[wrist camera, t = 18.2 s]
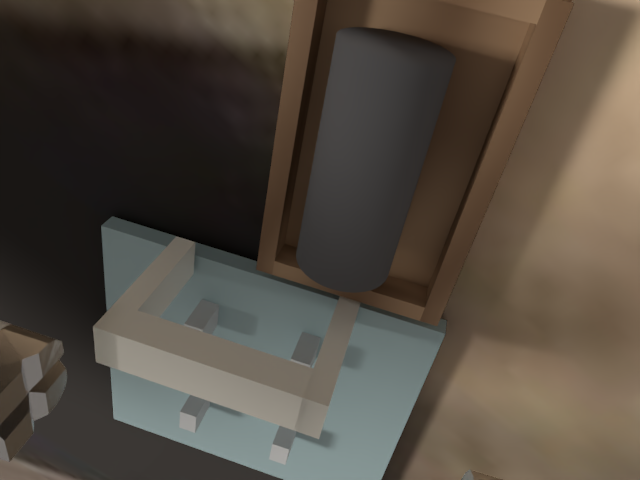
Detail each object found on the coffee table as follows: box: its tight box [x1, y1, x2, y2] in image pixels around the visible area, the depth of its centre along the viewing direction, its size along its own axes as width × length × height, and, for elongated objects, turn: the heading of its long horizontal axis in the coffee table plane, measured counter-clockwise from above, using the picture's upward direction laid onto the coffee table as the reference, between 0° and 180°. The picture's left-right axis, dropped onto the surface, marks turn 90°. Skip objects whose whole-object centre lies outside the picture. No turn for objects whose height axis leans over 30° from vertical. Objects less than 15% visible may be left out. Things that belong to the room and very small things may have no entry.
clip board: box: [101, 216, 447, 480], centre depth 30 cm, size 18×16×3 cm
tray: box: [256, 0, 574, 326], centre depth 21 cm, size 9×14×2 cm, turn 169°
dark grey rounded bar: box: [296, 27, 456, 293], centre depth 20 cm, size 4×9×4 cm, turn 169°
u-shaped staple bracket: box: [93, 236, 361, 439], centre depth 23 cm, size 10×2×7 cm, turn 79°
